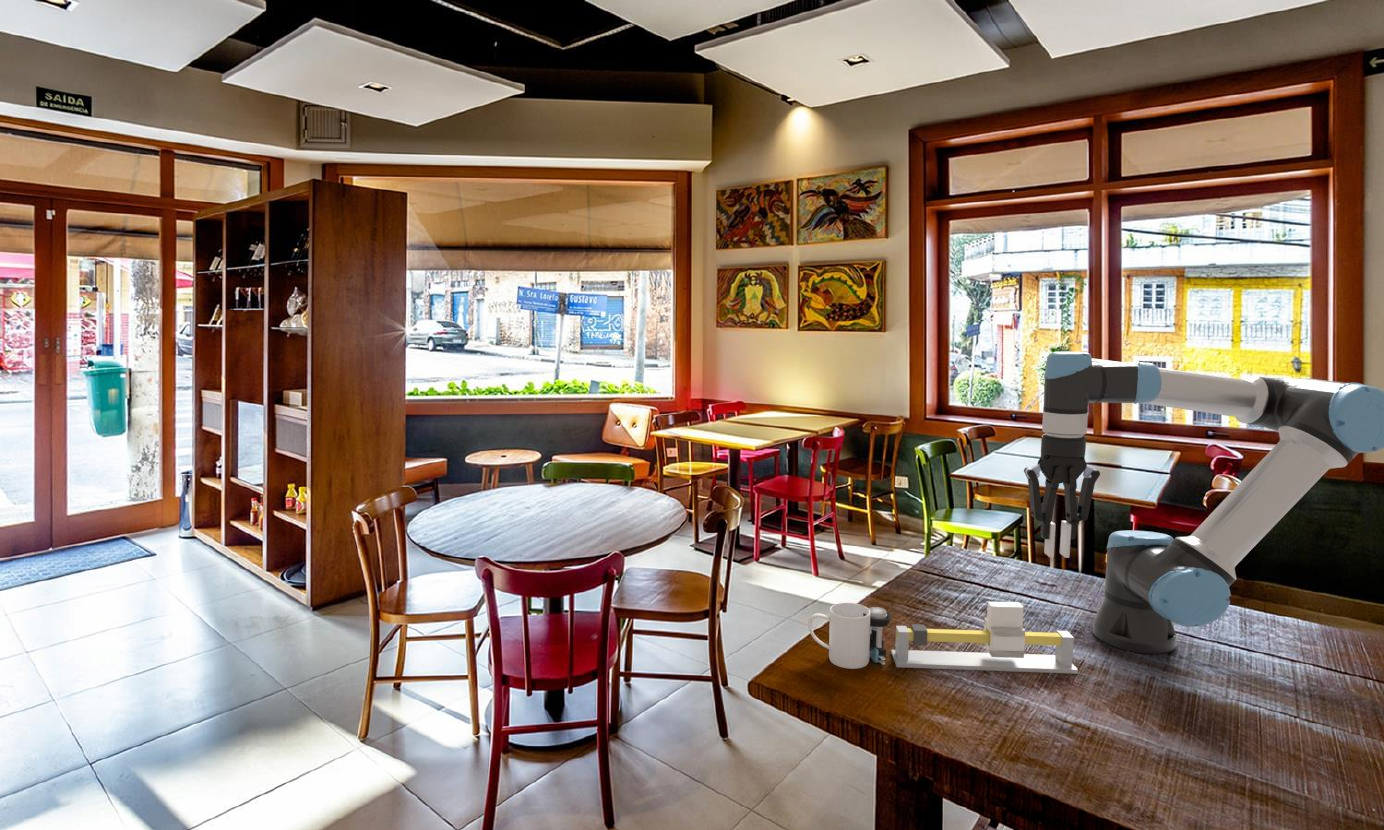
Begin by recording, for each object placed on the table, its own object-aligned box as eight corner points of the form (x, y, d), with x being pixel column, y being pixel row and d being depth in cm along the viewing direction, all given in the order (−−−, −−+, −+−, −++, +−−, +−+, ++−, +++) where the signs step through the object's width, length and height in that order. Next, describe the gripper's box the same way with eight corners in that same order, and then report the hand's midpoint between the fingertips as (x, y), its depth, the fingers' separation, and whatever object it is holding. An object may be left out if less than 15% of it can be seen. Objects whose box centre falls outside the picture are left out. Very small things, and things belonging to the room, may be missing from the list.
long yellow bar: (1061, 643, 146) (1062, 628, 145) (1067, 650, 143) (1068, 635, 142) (895, 637, 149) (896, 623, 148) (898, 644, 146) (898, 629, 146)
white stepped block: (1014, 645, 148) (1016, 599, 147) (1023, 657, 143) (1026, 610, 141) (983, 644, 149) (985, 598, 147) (991, 656, 143) (994, 609, 142)
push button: (896, 666, 146) (898, 617, 144) (870, 667, 145) (872, 619, 143) (882, 650, 152) (884, 604, 151) (857, 652, 151) (859, 605, 150)
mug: (863, 650, 152) (864, 601, 151) (873, 668, 144) (875, 617, 143) (804, 652, 152) (805, 603, 150) (812, 670, 144) (812, 619, 143)
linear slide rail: (1065, 659, 148) (1067, 627, 147) (1077, 673, 142) (1079, 640, 141) (891, 653, 151) (892, 622, 150) (896, 667, 145) (897, 635, 144)
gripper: (1097, 431, 142) (1089, 549, 145) (1015, 430, 143) (1009, 548, 146) (1115, 437, 134) (1107, 562, 138) (1028, 437, 136) (1022, 560, 139)
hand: (1056, 554), depth 142 cm, fingers open, 2 cm apart
